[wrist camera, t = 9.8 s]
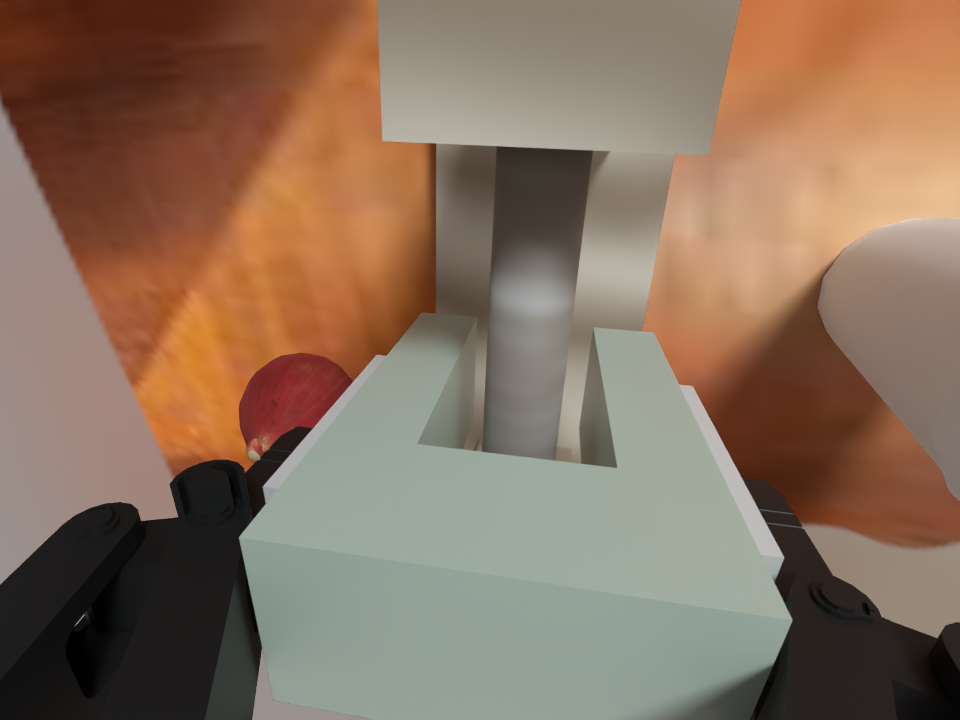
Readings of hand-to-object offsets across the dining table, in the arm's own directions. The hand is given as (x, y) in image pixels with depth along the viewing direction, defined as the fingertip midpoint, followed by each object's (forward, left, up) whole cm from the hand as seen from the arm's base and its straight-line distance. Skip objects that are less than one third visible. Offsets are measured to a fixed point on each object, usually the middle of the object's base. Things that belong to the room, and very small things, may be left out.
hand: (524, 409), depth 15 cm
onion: (+6, -12, -11) cm, 17 cm away
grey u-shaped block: (0, 0, -3) cm, 3 cm away
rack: (0, 0, -11) cm, 11 cm away
